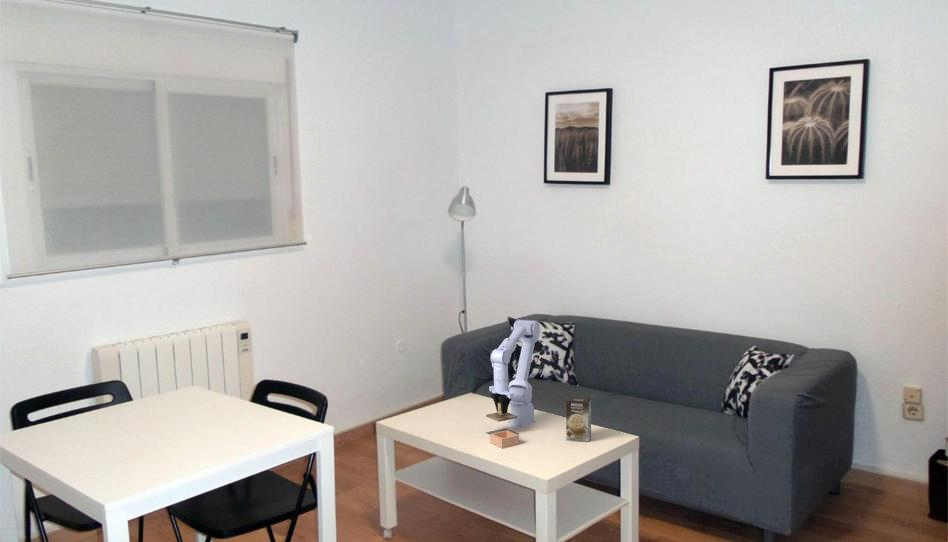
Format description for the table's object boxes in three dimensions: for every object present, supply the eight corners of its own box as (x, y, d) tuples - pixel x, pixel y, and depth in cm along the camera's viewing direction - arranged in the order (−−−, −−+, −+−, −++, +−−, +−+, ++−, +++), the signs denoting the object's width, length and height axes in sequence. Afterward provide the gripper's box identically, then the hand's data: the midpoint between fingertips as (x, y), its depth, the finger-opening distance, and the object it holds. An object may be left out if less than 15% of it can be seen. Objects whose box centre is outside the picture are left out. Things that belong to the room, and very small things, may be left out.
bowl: (507, 440, 302) (507, 430, 302) (519, 445, 295) (518, 435, 295) (490, 444, 298) (490, 434, 297) (502, 449, 291) (501, 439, 291)
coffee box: (565, 440, 299) (564, 400, 298) (569, 435, 305) (568, 396, 304) (589, 442, 296) (588, 401, 295) (592, 437, 302) (591, 397, 301)
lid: (504, 413, 315) (504, 399, 314) (517, 418, 307) (517, 403, 307) (486, 416, 310) (486, 402, 309) (498, 421, 302) (498, 407, 302)
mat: (505, 428, 316) (505, 428, 316) (519, 435, 308) (519, 434, 308) (485, 433, 311) (485, 432, 311) (499, 439, 302) (499, 438, 302)
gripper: (482, 377, 311) (483, 409, 312) (503, 384, 299) (503, 418, 300) (497, 374, 315) (498, 406, 316) (517, 381, 302) (518, 414, 304)
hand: (501, 412), depth 308 cm, fingers closed on lid, 3 cm apart
